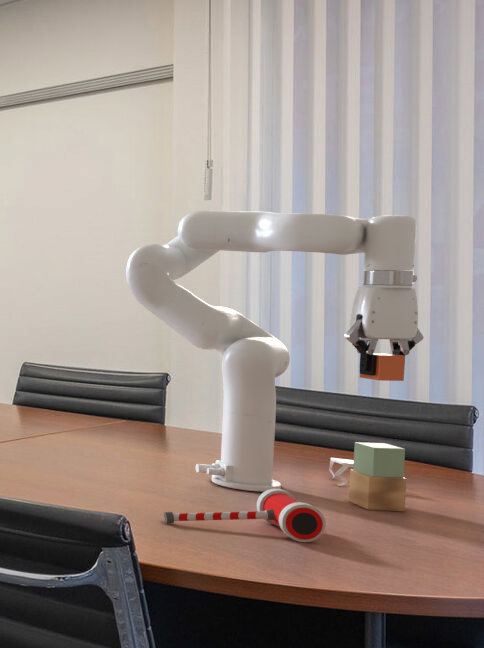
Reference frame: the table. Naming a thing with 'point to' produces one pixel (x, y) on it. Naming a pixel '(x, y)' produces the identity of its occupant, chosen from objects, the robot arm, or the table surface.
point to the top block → (388, 368)
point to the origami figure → (345, 465)
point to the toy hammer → (271, 515)
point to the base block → (377, 492)
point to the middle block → (379, 459)
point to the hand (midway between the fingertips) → (381, 373)
